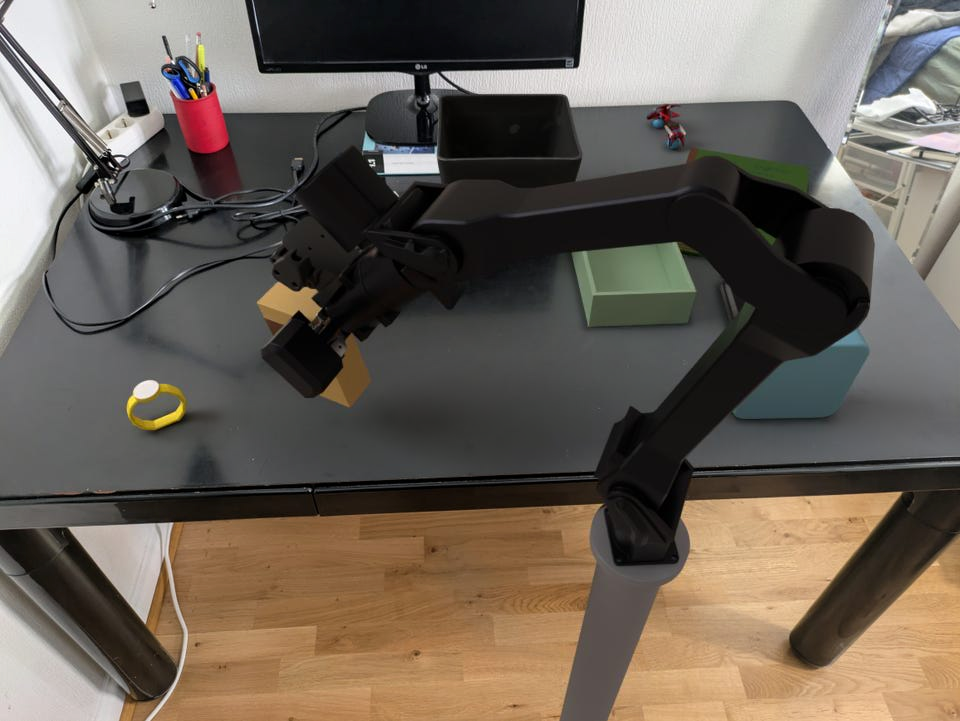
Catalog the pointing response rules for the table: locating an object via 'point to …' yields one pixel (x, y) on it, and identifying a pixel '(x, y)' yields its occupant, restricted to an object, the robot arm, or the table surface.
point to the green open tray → (635, 285)
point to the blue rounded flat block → (808, 383)
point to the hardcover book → (758, 168)
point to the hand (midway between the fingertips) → (305, 336)
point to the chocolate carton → (286, 303)
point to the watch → (148, 393)
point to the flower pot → (507, 139)
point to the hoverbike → (668, 124)
